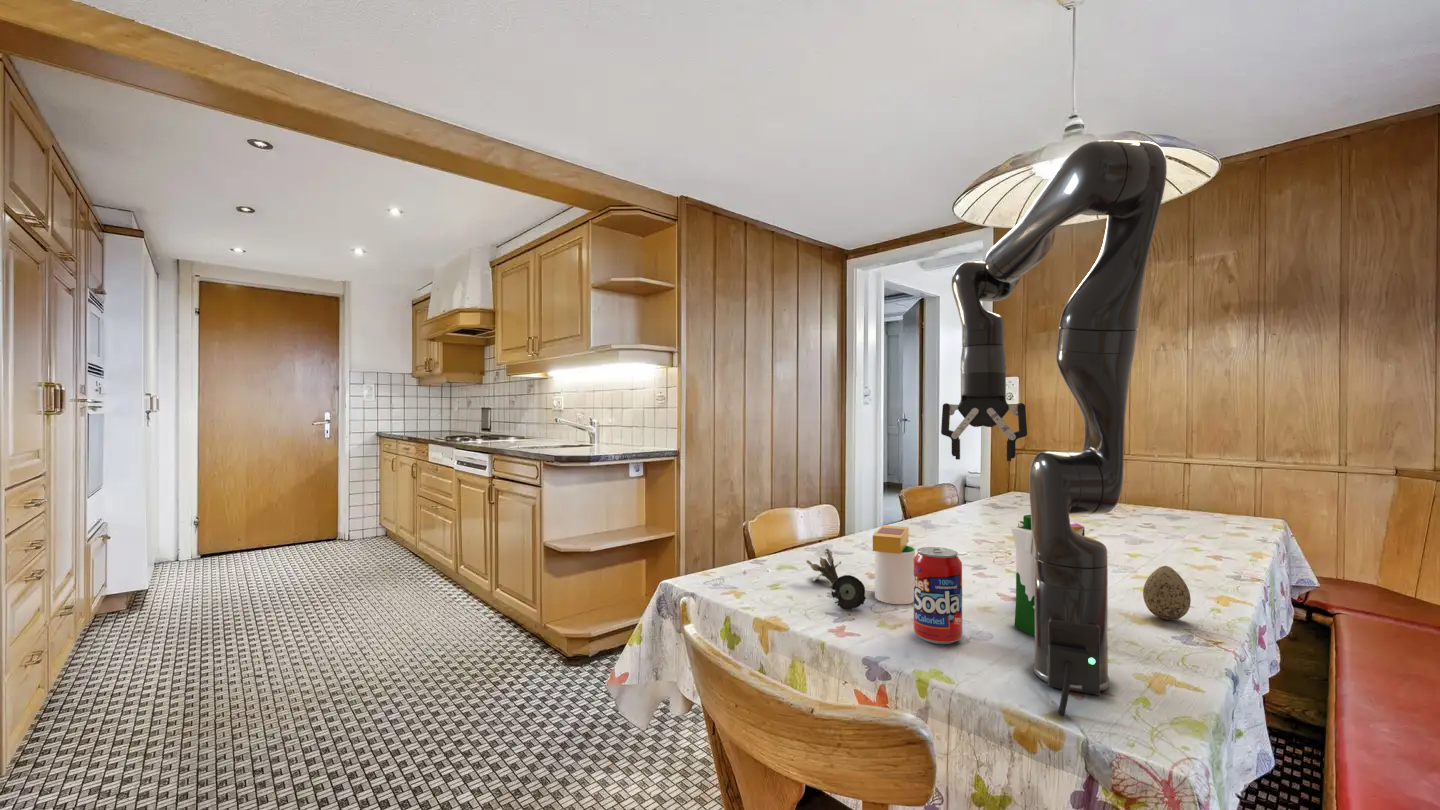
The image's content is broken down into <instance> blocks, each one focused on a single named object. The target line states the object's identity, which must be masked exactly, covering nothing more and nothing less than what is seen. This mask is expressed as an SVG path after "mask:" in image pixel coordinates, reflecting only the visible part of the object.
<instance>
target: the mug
mask: <svg viewBox="0 0 1440 810" xmlns="http://www.w3.org/2000/svg"><path fill="white" fill-rule="evenodd" d="M915 556H916V549H915V548H914V547H913V546H910V545H908V544H907V545H906V546H905V548H904V549H903V551H902V552H901V554H897V553H887V552H877V551H874V598H875V599H876V600H877V601H879V602H881V603H885V604H891V605H909V604H914V558H915Z"/></svg>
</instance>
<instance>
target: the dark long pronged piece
mask: <svg viewBox="0 0 1440 810" xmlns="http://www.w3.org/2000/svg"><path fill="white" fill-rule="evenodd" d="M824 554H825V555H827V556H826V558H823V557H822V556H819V564H817V563H812V561H810V560H806V561H805V562H806V564H807V565H808V566H810V568H811V570H813V571H815V572H819V574H818V575H816V576H815V577H813V578H811V581H812V582H816V581H817V580H818V579H819V578H820V577H824V578H826V579H827V580H828V581H829V582H830V583H831V584H832V585H831V591H830V592H831V593H830V594H831V597H832V598H833V600H835V598H836V599H837V601H835V602H834V604H836V606H837V607H840V609H842V610H845V611H852V610H853V609H856V608H859V607H861V605H865V604H864V603H865V602H866V599H867V597H866V587H865V584H863V582H862V581H861V580H860V579H859V578H858V577H856V576H854V575H850V574H845V575H841V576H839V575H838V573H837V570H836V568H837V567H838V566H839V565H841V564H842V561H841V560H839V562H838V563H836V564H834V563H835V562H834V556H833V551H831V550H830V549H829V548H826V549H825V550H824Z"/></svg>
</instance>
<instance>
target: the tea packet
mask: <svg viewBox="0 0 1440 810" xmlns="http://www.w3.org/2000/svg"><path fill="white" fill-rule="evenodd" d="M909 529H910V528H909V526H900V525H899V526H898V525H885V524H883V525H882V526H881V527H880V528H879V529H878V530H877V531H875V533H873V534H872V552H875V551H877V552H887V553H897V554H901V552H902V551H903V549H904V548H905V546H906V545H907V546H908V544H909V540H910V539H909V535H910V533H909Z"/></svg>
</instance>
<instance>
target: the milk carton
mask: <svg viewBox="0 0 1440 810" xmlns="http://www.w3.org/2000/svg"><path fill="white" fill-rule="evenodd" d="M1022 520H1023V526H1022V527H1018V526H1015V527H1011V533H1012V534H1011V535H1012V539H1013V544H1014V548H1015V610H1014V622H1013V623H1014V625H1013V626H1014V628H1016V629H1017V630H1020V631H1022V632H1025V633H1026V634H1028V635H1031V636H1033V637H1035V550H1034V542H1033V537H1032V530H1031V514H1024V515H1023V518H1022Z"/></svg>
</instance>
